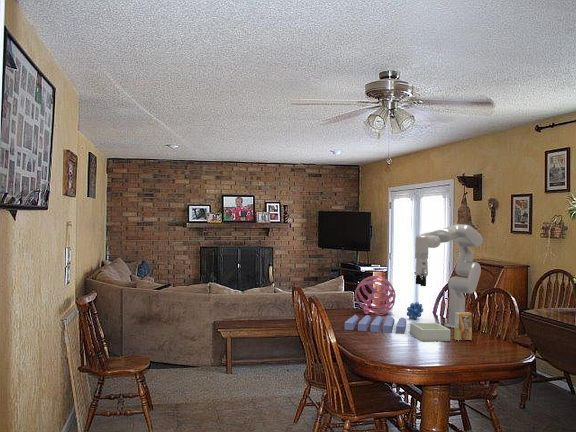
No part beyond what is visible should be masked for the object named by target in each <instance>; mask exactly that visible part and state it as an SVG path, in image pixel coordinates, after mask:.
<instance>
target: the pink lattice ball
mask: <svg viewBox="0 0 576 432" xmlns="http://www.w3.org/2000/svg"><path fill="white" fill-rule="evenodd" d="M377 280H378V281H377ZM380 281H382V282H380ZM383 282H384V283H383ZM366 285H368V288H369V290H370V291H371V293H369V292H368V291H367V289H366ZM373 285H376V287H374V286H373ZM378 286H380V287H381V289H382V290H380V289H378ZM360 288H361V291H362V292H363V294H364V295H365V296H367V299H365V297H363V295H362V294H361V291H360ZM354 291H355V292H354V297H355V300H356V302H357V304H358V305H359V307H361V308H362V309H363V313H364V314H365V315H368V314H369V313H373V314H375V315H376V316H381V317H382V316H384V315H386V314H387V313H388V312H389V311H390V310H392V309H393V307H394V305H395V303H396V292H395V291H396V290H395V288H394V286H393V284H392V282H390V281H389V279H387V278H385V277H382V276H379V275H371V276H368V277H366V278H363V279H362V280H361V281H360V282H359V283H358V285H357V287H356V289H355V290H354ZM387 292H389V293H390V294H388V293H387ZM375 294H378V295H382V294H383V295H384V297H376V296H374V295H375ZM357 295H358V296H357ZM391 298H392V300H391V301H390V299H391ZM359 299H360V300H359ZM360 301H362V302H363V303H364V304H365V305H363V304H362V303H361V302H360ZM372 301H376V302H386V303H385V304H376V303H373V302H372ZM369 307H372V308H375V309H384V310H374V309H370V308H369Z"/></svg>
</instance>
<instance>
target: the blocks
mask: <svg viewBox="0 0 576 432" xmlns="http://www.w3.org/2000/svg"><path fill="white" fill-rule="evenodd" d="M359 319H360V318H359V316H358V315H357V314H356V313H355V314H354V315H352V317H351V316H350V317H349V318H348V319H347V320H345V321H344V330H347V331H348V330H349V331H354V330H355V329H354V328H355V327H356V325H357V331H358V332H361V331H362V332H367V330H368V328H369V326H370V328H369V329H370V333H371V332H373V333H374V332H375V333H379V332H380V330H381V327H382V324H383V327H382V332H383V333H384V334H392V333H393V330H394V325H395V322H396V321H395V318H394V317H393V316H388V317H387V319H386V320H385V321H384V319H383V317H382V316H379V315H376V316H375V318H374V319H373V321H372V317H371V316H370V315H368V314H365V315H364V316H363V317H362V318H361V319H360V320H359ZM358 321H359V322H358ZM371 321H372V322H371ZM383 321H384V323H383ZM406 326H407V319H406V318H405V317H400V318H399V319H398V320H397V323H396V326H395V334H398V335H405V334H406V328H407V327H406Z"/></svg>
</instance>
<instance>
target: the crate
mask: <svg viewBox="0 0 576 432" xmlns="http://www.w3.org/2000/svg"><path fill="white" fill-rule="evenodd" d="M409 334H410V335H411V337H414V338H415V339H417V340H419V342H425V343H426V342H427V343H429V342H430V343H431V342H432V343H433V342H434V343H435V341H436V342H437V343H439V342H438V341H450V342H451V329H449V327H447V326H443V325H442V324H439V323H437V322H434V323H433V322H410V323H409Z"/></svg>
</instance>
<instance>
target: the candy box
mask: <svg viewBox="0 0 576 432" xmlns="http://www.w3.org/2000/svg"><path fill="white" fill-rule="evenodd" d="M472 332H473V313H472V312H468V311H467V312H466V311H465V312H464V313H455V328H454V334H453V336H454V338H453V340H454V339H455V340H454V341H456V340H458V341H457V342H460V341H459V340H471V341H472V336H473V334H472Z"/></svg>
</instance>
